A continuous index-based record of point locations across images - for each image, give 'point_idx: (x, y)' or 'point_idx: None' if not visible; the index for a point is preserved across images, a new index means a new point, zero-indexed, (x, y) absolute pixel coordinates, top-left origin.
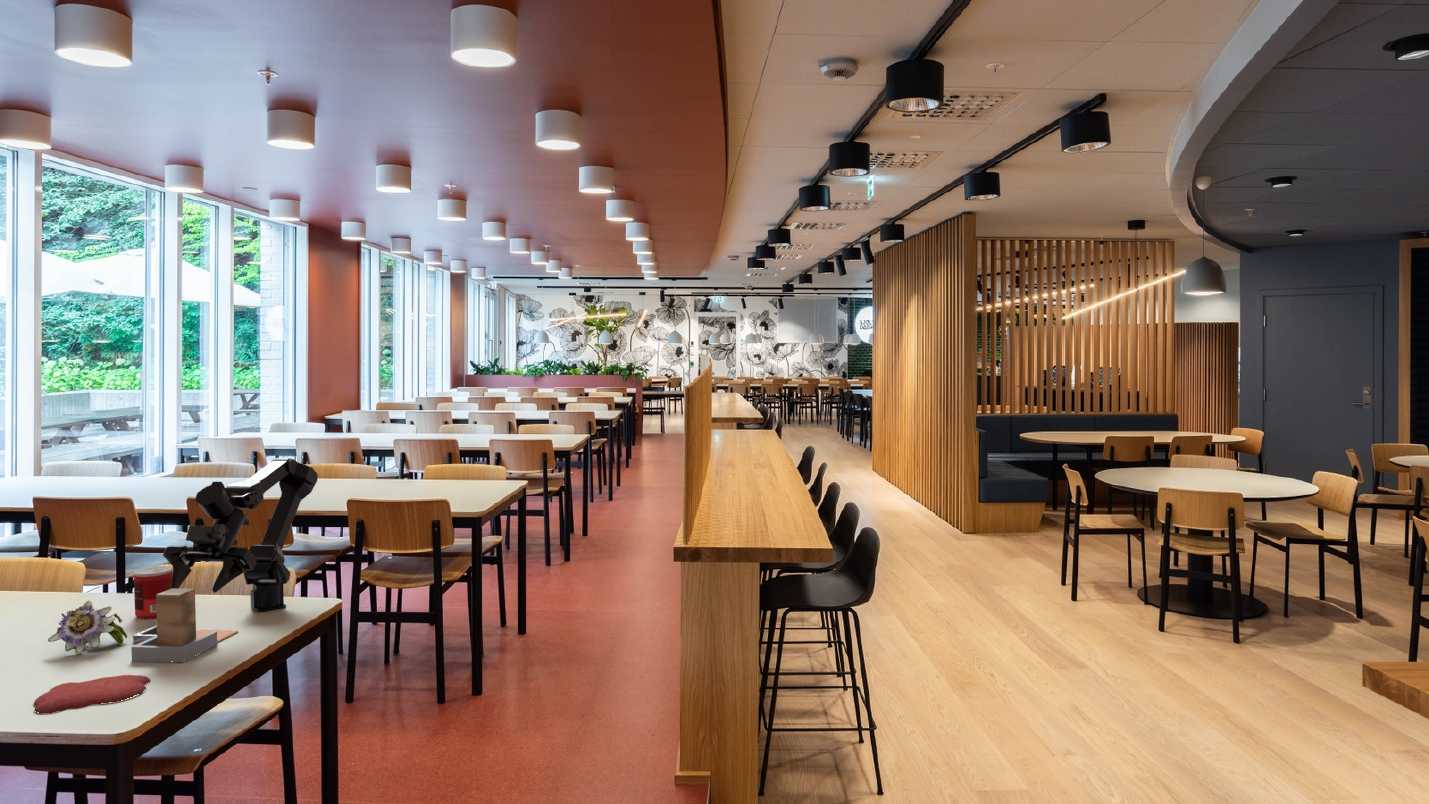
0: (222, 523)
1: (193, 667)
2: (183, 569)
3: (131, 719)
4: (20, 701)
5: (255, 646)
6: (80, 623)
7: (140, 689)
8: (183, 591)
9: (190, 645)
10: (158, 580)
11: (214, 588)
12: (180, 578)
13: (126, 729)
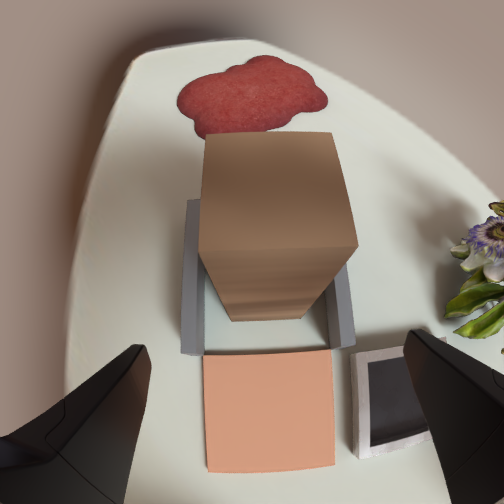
0: None
1: (156, 200)
2: (484, 457)
3: (147, 66)
4: (330, 77)
5: (90, 349)
6: (494, 206)
7: (179, 98)
8: (230, 189)
9: (185, 228)
10: None
11: (129, 349)
12: (446, 408)
13: (140, 57)
